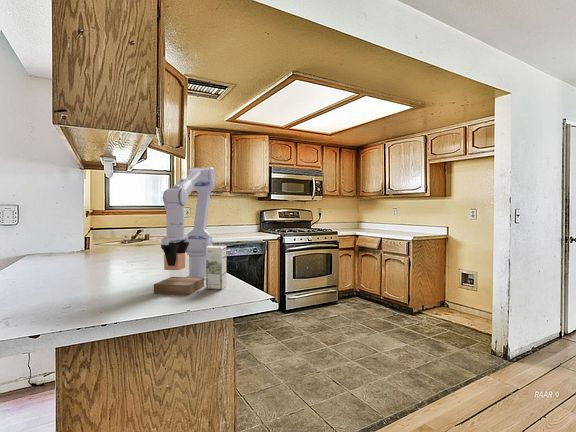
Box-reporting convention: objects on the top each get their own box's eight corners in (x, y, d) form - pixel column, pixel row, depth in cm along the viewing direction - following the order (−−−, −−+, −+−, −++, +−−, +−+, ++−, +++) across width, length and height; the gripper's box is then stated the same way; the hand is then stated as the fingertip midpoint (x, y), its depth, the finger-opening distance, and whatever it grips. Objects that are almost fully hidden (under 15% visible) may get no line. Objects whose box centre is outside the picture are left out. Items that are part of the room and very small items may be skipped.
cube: (171, 267, 115) (171, 252, 115) (185, 267, 115) (185, 253, 115) (164, 269, 111) (164, 254, 110) (178, 270, 110) (178, 255, 110)
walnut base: (171, 285, 119) (171, 276, 119) (204, 286, 117) (204, 277, 117) (153, 293, 107) (153, 284, 107) (189, 294, 105) (189, 285, 105)
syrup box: (227, 286, 117) (226, 244, 117) (222, 290, 112) (221, 246, 111) (211, 285, 118) (211, 244, 118) (205, 289, 112) (205, 246, 112)
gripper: (174, 223, 120) (174, 260, 120) (152, 224, 106) (152, 267, 106) (193, 223, 119) (193, 261, 119) (173, 225, 105) (173, 268, 105)
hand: (175, 264), depth 113 cm, fingers closed on cube, 5 cm apart
